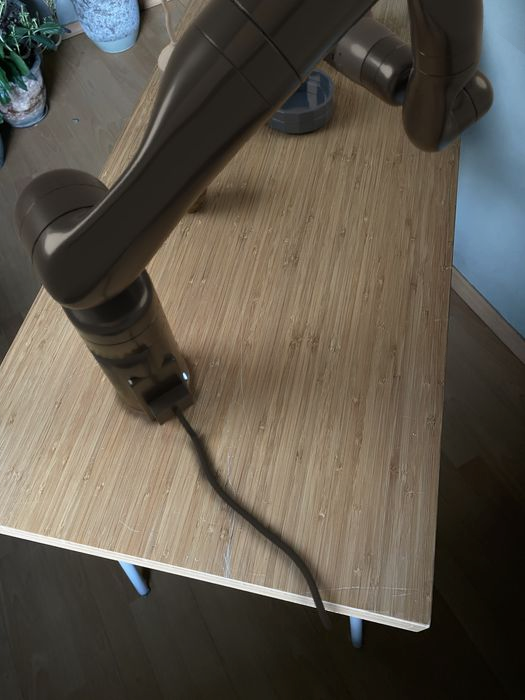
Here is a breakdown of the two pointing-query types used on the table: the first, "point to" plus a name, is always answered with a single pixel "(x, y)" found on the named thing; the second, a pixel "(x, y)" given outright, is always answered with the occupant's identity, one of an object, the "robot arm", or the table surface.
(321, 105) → the bowl
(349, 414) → the table surface
